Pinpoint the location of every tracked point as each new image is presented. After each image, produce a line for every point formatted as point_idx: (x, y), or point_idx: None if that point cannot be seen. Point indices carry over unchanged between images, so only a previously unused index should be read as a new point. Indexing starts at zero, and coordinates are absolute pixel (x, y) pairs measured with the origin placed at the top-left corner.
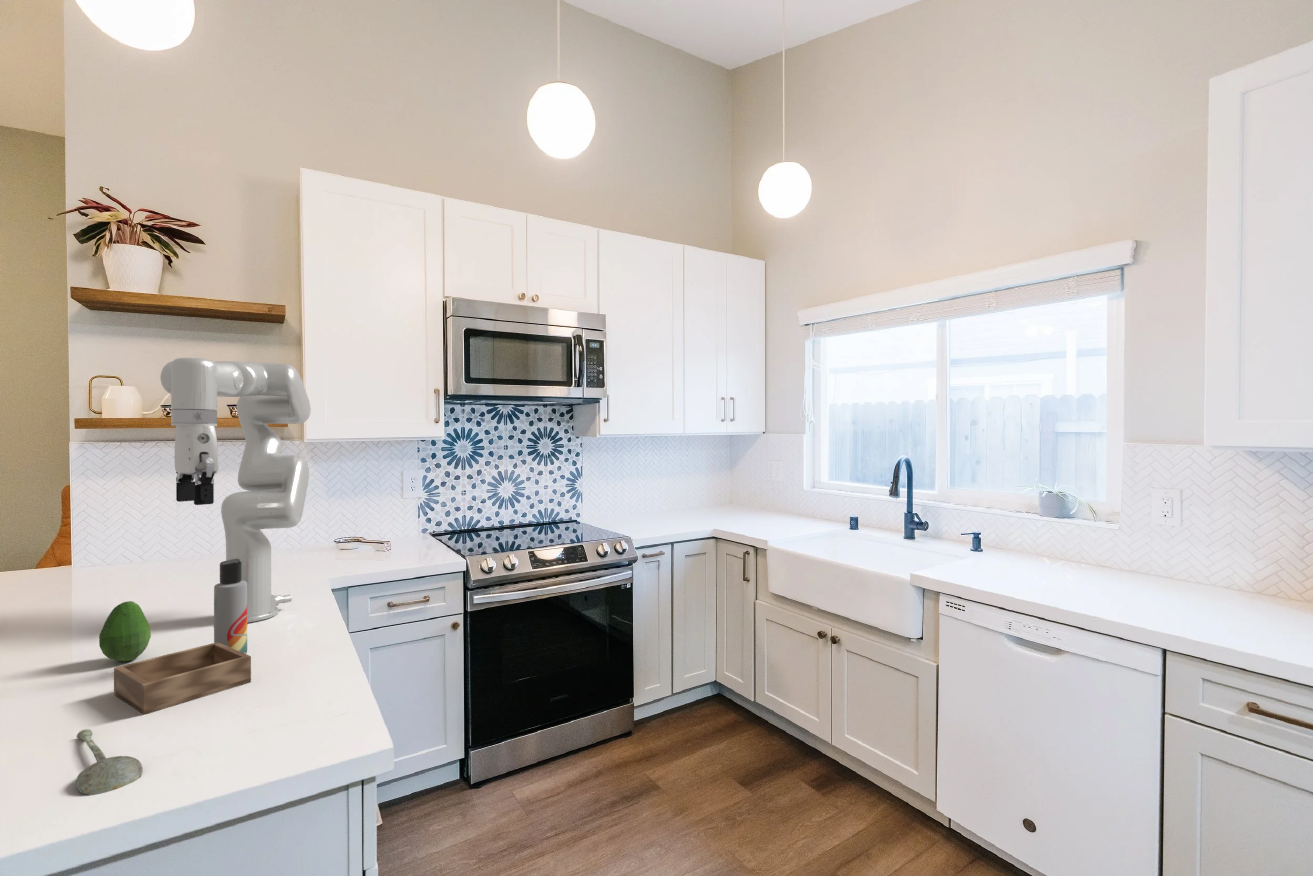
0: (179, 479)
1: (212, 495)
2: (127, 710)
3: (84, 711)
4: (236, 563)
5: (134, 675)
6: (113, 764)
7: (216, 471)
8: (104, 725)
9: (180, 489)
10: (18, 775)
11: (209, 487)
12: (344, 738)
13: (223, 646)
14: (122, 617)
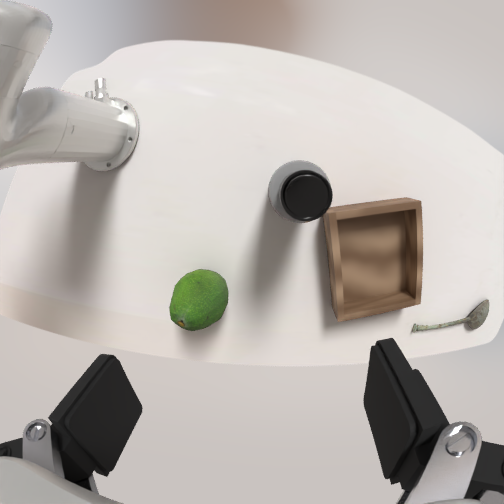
0: (93, 482)
1: (409, 370)
2: None
3: (356, 327)
4: (330, 188)
5: (384, 308)
6: (485, 315)
7: (476, 502)
8: (403, 316)
9: (119, 444)
10: (433, 352)
11: (444, 420)
12: None
13: (356, 212)
14: (209, 318)
